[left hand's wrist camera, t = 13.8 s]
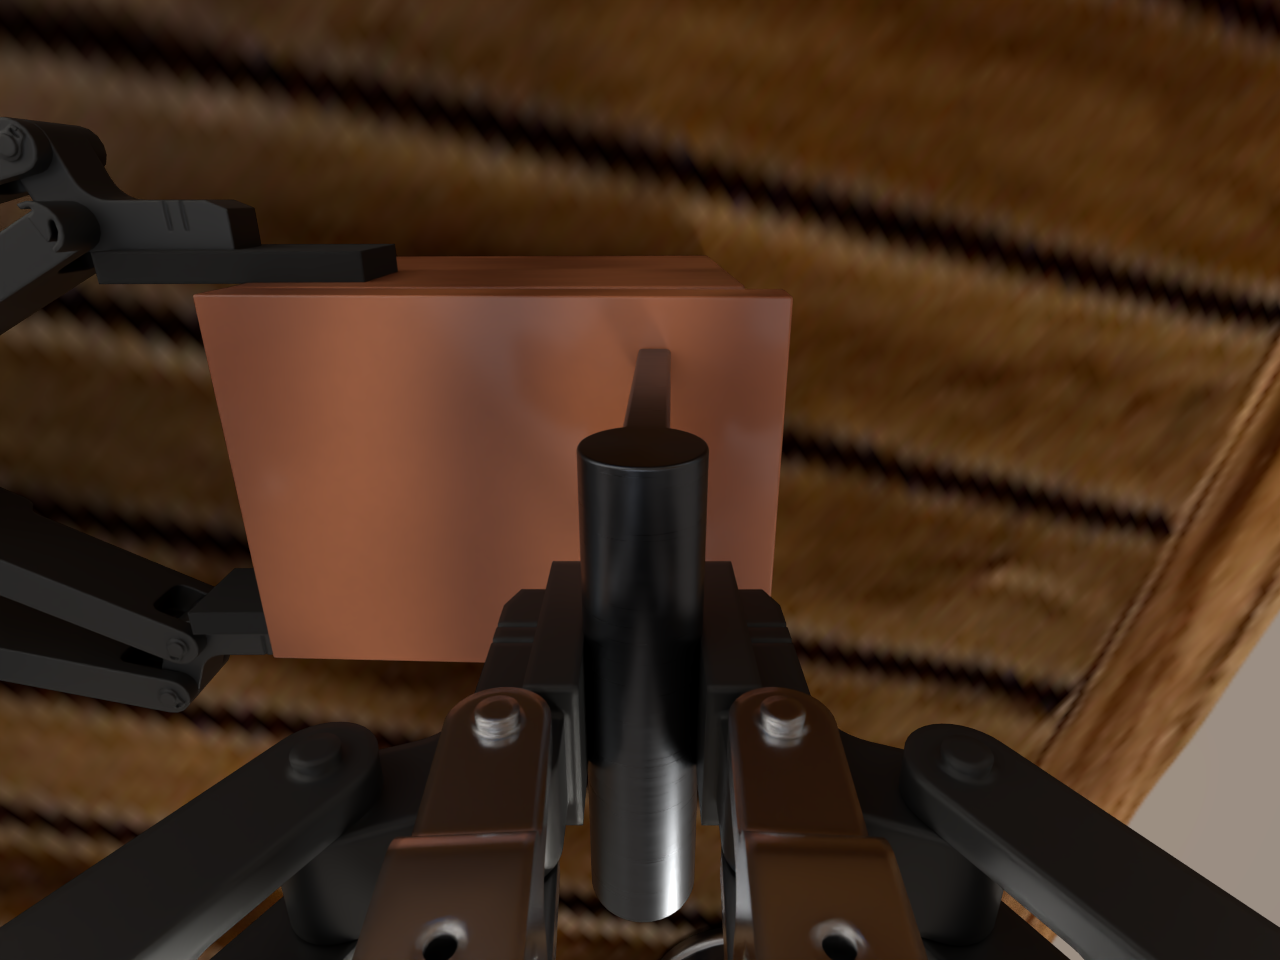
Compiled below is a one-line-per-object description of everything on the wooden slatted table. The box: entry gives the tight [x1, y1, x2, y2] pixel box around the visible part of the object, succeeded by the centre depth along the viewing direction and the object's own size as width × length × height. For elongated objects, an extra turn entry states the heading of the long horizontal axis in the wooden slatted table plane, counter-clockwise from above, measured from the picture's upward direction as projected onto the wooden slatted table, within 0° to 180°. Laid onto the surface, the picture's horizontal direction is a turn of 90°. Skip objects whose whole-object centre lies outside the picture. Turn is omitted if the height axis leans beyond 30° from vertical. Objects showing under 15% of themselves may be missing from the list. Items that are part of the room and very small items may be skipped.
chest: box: [229, 256, 745, 289], centre depth 23 cm, size 12×9×9 cm
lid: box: [193, 288, 793, 922], centre depth 14 cm, size 13×9×9 cm
